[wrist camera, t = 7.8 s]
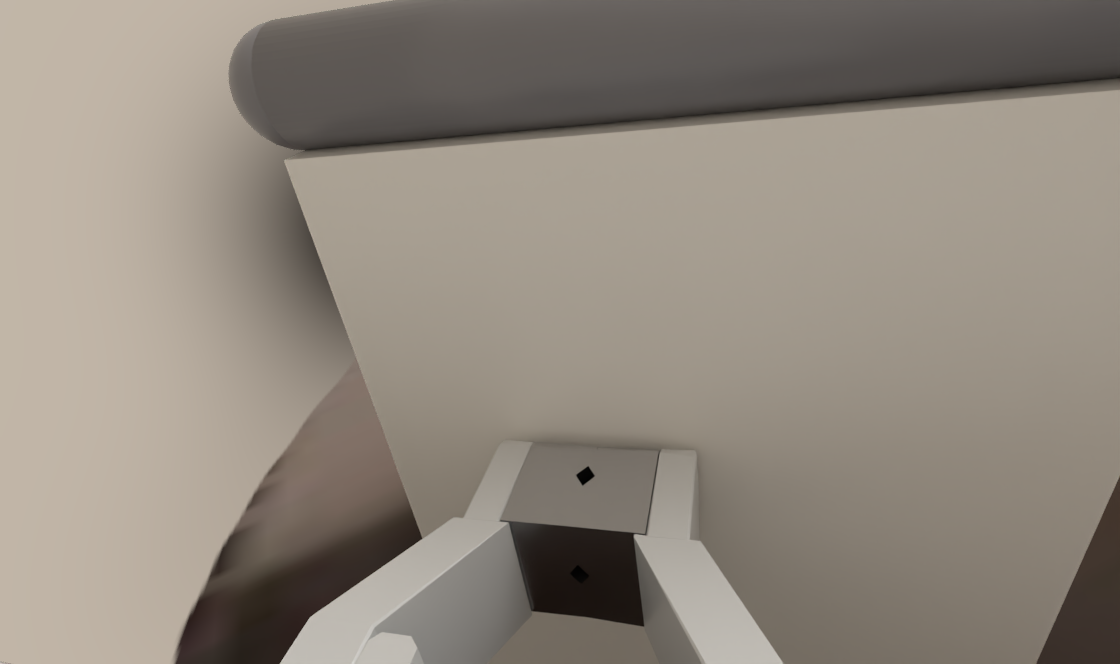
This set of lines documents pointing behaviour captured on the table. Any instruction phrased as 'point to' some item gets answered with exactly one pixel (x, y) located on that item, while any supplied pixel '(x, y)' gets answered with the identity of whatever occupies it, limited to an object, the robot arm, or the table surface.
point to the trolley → (740, 282)
